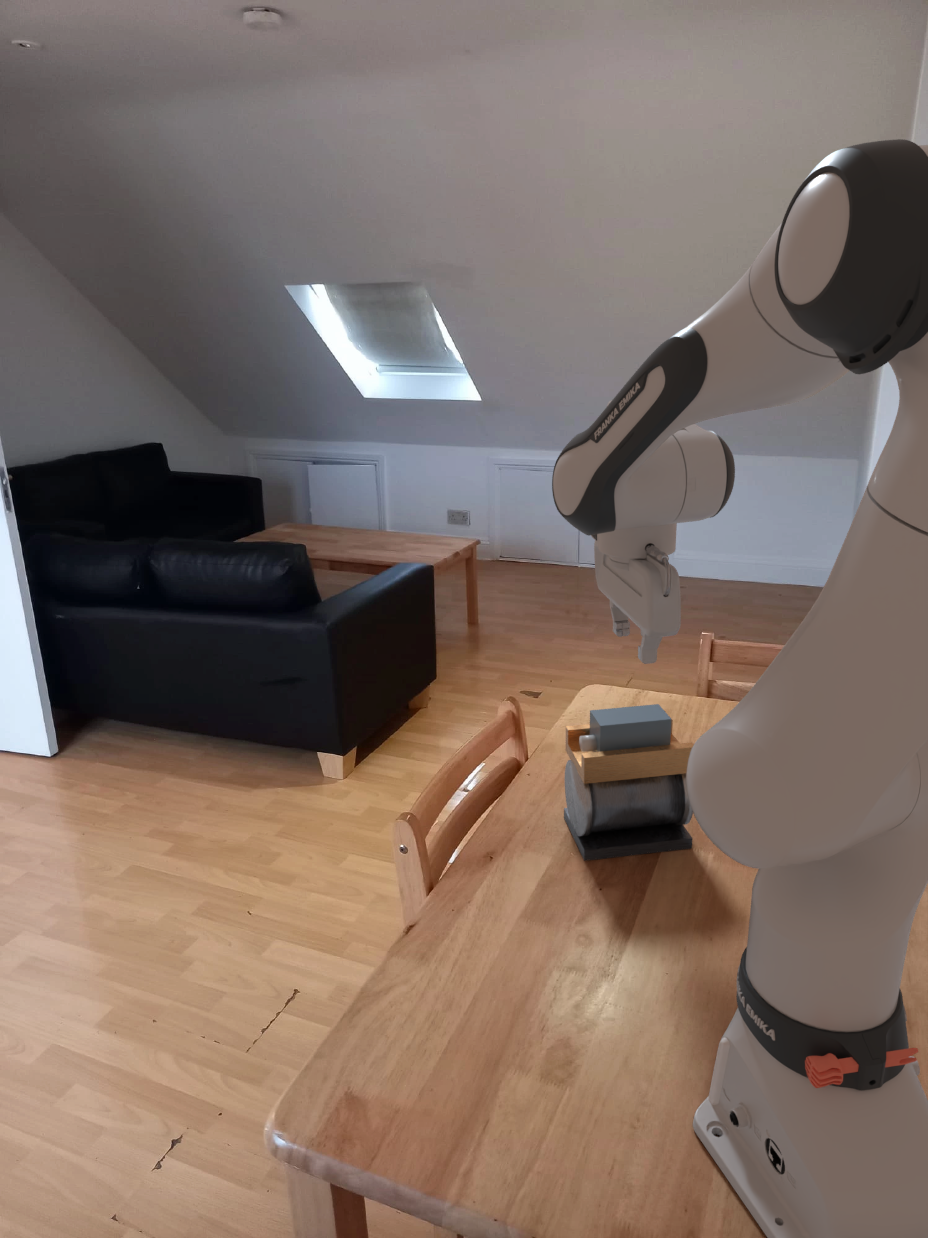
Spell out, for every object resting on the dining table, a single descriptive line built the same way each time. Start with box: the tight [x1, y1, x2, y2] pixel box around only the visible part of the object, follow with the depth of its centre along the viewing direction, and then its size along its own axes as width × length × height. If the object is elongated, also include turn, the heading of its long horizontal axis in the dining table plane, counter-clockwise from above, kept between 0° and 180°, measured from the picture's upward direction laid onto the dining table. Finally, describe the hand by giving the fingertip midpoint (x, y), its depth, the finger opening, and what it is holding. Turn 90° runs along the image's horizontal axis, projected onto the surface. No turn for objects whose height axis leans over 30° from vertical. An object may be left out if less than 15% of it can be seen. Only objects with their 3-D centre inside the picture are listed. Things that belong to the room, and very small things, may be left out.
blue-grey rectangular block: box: [579, 703, 673, 752], centre depth 107 cm, size 4×11×5 cm, turn 98°
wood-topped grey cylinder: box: [563, 715, 695, 862], centre depth 109 cm, size 10×14×14 cm
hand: (633, 647), depth 103 cm, fingers open, 8 cm apart
